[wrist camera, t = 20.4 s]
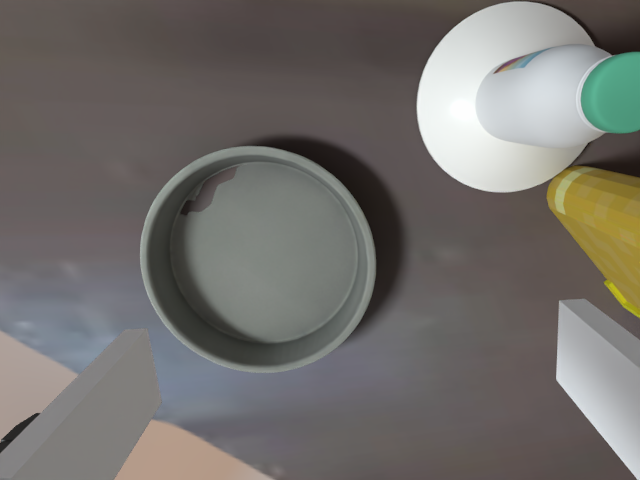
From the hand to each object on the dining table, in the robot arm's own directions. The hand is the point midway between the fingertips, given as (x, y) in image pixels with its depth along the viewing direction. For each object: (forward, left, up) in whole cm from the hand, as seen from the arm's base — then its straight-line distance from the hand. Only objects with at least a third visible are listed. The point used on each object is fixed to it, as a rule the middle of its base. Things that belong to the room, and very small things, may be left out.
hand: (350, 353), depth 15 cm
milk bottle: (-8, +17, -36) cm, 40 cm away
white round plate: (-8, +17, -37) cm, 41 cm away
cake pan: (+7, -9, -37) cm, 39 cm away
